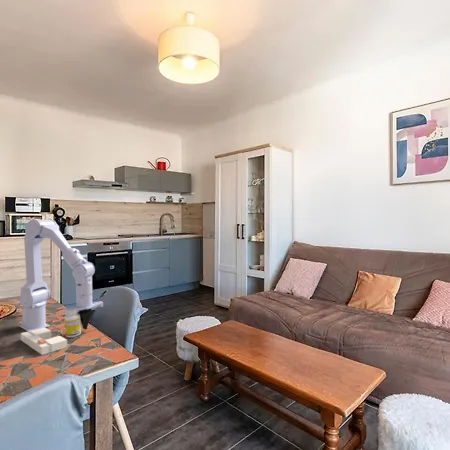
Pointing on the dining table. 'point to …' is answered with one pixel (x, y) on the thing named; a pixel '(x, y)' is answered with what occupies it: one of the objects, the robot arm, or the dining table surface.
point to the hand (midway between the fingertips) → (84, 328)
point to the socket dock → (43, 341)
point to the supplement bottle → (72, 324)
